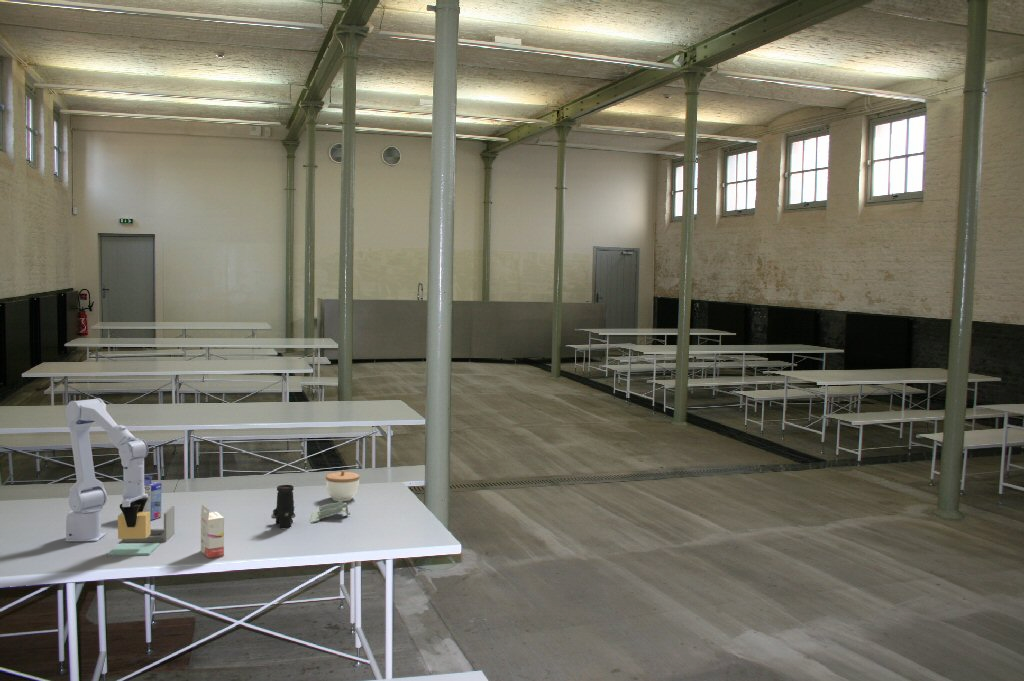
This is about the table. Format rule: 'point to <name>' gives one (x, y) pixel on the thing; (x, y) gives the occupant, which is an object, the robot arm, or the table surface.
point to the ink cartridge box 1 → (152, 498)
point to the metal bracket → (329, 511)
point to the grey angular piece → (160, 530)
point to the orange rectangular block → (135, 532)
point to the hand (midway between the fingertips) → (133, 524)
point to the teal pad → (133, 549)
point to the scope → (284, 506)
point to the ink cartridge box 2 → (212, 533)
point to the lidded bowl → (342, 485)
